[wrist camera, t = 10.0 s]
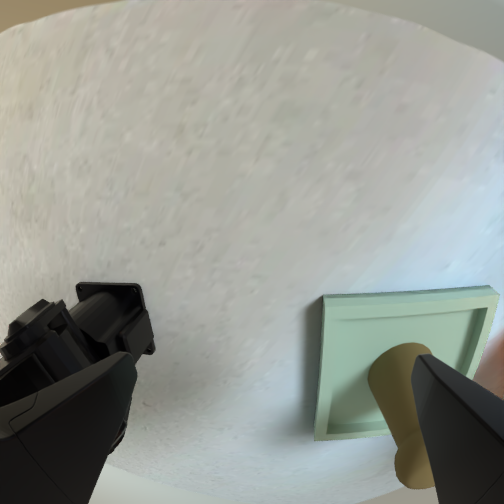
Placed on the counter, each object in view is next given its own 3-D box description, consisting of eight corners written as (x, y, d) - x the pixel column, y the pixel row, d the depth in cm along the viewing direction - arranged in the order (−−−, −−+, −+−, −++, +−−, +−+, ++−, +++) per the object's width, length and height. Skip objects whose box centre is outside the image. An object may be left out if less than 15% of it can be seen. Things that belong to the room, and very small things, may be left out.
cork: (436, 334, 21) (495, 433, 11) (429, 388, 23) (468, 482, 13) (366, 351, 22) (398, 467, 12) (367, 403, 24) (387, 508, 14)
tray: (313, 427, 26) (314, 441, 25) (322, 294, 22) (325, 306, 20) (448, 411, 24) (453, 422, 23) (489, 285, 20) (499, 294, 18)
